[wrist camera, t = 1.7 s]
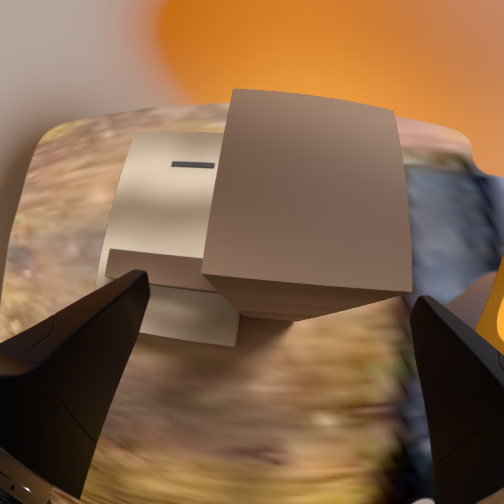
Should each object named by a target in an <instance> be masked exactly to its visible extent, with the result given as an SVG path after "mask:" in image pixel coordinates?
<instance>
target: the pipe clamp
mask: <svg viewBox="0 0 504 504" xmlns="http://www.w3.org/2000/svg"><path fill="white" fill-rule="evenodd" d="M474 331H476V332H477V333H478V334H479V335H480V336H482V337H483V338H484V339H485V340H486V341H488V342H489V343H490V344H491V345H492V346H494V347H495V348H496V349H497V351H500V352H501V353H502V354H503V355H504V255H503V257H502V261H501V264H500V267H499V270H498V272H497V273H496V277H495V279H494V282H493V285H492V288H491V291H490V293H489V296H488V299H487V301H486V304H485V306H484V309H483V311H482V313H481V316H480V318H479V321H478V323H477V325H476V327H475V330H474Z"/></svg>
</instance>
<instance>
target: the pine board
mask: <svg viewBox="0 0 504 504" xmlns="http://www.w3.org/2000/svg"><path fill="white" fill-rule="evenodd" d="M223 136H224V133H209V132H145V133H135V135H134V137H133V140H132V143H131V146H130V149H129V152H128V155H127V158H126V161H125V164H124V167H123V171H122V174H121V177H120V181H119V184H118V188H117V191H116V195H115V198H114V202H113V206H112V210H111V214H110V218H109V222H108V226H107V230H106V234H105V239H104V243H103V248H102V253H101V258H100V263H99V268H98V274H97V279H96V285H95V290H97V289H99V288H101V287H103V286H104V285H106V284H108V283H110V282H112V281H113V279H110V278H108V277H105V271H106V265H107V260H108V255H109V250H110V248H111V249H120V250H129V251H138V252H147V253H156V254H166V255H175V256H185V257H194V258H203V254H204V248H205V241H206V234H207V228H208V222H209V215H210V209H211V203H212V197H213V191H214V185H215V180H216V174H217V168H218V163H219V157H220V152H221V147H222V141H223ZM239 316H240V313H239V312H238V311H237V310H236V309H235V308H234V307H233V306H232V305H231V304H230V303H229V302H228V301H227V300H226V299H225V298H224V297H223V296H222V295H221V294H217V293H208V292H200V291H191V290H183V289H176V288H168V287H161V286H153V285H150V299H149V302H148V305H147V308H146V311H145V315H144V318H143V321H142V325H141V328H140V331H139V332H141V333H147V334H152V335H158V336H163V337H169V338H175V339H182V340H188V341H195V342H202V343H209V344H216V345H224V346H232V347H234V346H235V345H236V344H237V335H238V325H239Z"/></svg>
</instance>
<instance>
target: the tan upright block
mask: <svg viewBox="0 0 504 504" xmlns="http://www.w3.org/2000/svg"><path fill="white" fill-rule="evenodd" d="M133 269H140V270H145V271H146V272H147V274H148V279H149V285H153V286H161V287H168V288H176V289H183V290H191V291H200V292H208V293H217V294H221V295H222V296H223V297H224V298H225V299H226V300H227V301H228V302H229V303H230V304H231V305H232V306H233V307H234V308H235V309H236V310H237V311H238V312H239V313H240V314H241V315H242V316H243V317H252V318H262V319H272V320H284V321H301V320H305V319H310V318H314V317H319V316H323V315H327V314H331V313H336V312H340V311H344V310H348V309H352V308H356V307H360V306H363V305H367V304H371V303H375V302H378V301H382V300H386V299H389V298H393V297H396V296H400V295H403V294H407V293H410V292H412V251H411V231H410V217H409V205H408V195H407V187H406V178H405V171H404V164H403V157H402V151H401V145H400V139H399V134H398V129H397V124H396V119H395V114H394V111H392V110H388V109H384V108H380V107H375V106H370V105H366V104H361V103H356V102H350V101H345V100H339V99H333V98H327V97H320V96H312V95H305V94H297V93H287V92H276V91H264V90H248V89H233V92H232V97H231V102H230V106H229V111H228V116H227V121H226V126H225V131H224V136H223V141H222V147H221V152H220V157H219V163H218V168H217V174H216V180H215V185H214V191H213V197H212V203H211V209H210V215H209V222H208V228H207V234H206V241H205V248H204V254H203V258H194V257H185V256H175V255H166V254H156V253H147V252H138V251H129V250H120V249H111V248H110V250H109V255H108V260H107V265H106V271H105V277H108V278H110V279H113V280H115V279H117V278H119V277H121V276H122V275H124V274H126V273H128V272H130V271H132V270H133Z"/></svg>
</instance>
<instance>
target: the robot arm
mask: <svg viewBox="0 0 504 504" xmlns="http://www.w3.org/2000/svg"><path fill="white" fill-rule="evenodd" d="M149 299H150V285H149V279H148V274H147V272H146V271H145V270H140V269H133V270H132V271H130V272H128V273H126V274H124V275H122V276H121V277H119V278H117V279H115V280H113V281H112V282H110V283H108V284H106V285H104V286H103V287H101V288H99V289H97V290H95V291H94V292H92V293H90V294H88V295H87V296H85V297H83V298H81V299H80V300H78V301H76V302H74V303H73V304H71V305H69V306H67V307H66V308H64V309H62V310H61V311H59V312H57V313H55V315H52V316H50V317H49V318H47V319H45V320H43V321H42V322H40V323H38V324H36V325H35V326H33V327H31V328H29V329H27V330H25V331H23V332H21V333H19V334H17V335H15V336H13V337H11V338H9V339H7V340H5V341H4V342H2V343H0V504H52V503H51V501H50V499H49V498H50V495H51V492H52V489H53V487H54V488H55V489H57V490H59V491H61V492H63V493H65V494H67V495H69V496H71V497H74V498H76V499H78V500H80V497H81V494H82V491H83V487H84V484H85V480H86V477H87V474H88V471H89V467H90V464H91V461H92V458H93V455H94V452H95V449H96V444H97V442H98V439H99V436H100V433H101V431H102V428H103V425H104V422H105V419H106V416H107V414H108V411H109V408H110V405H111V403H112V400H113V397H114V395H115V392H116V389H117V387H118V384H119V382H120V379H121V377H122V374H123V372H124V369H125V367H126V364H127V362H128V359H129V357H130V354H131V352H132V349H133V347H134V345H135V342H136V340H137V337H138V335H139V331H140V328H141V325H142V321H143V318H144V315H145V311H146V308H147V305H148V302H149ZM409 320H410V327H411V333H412V340H413V348H414V355H415V360H416V365H417V369H418V374H419V379H420V384H421V389H422V394H423V399H424V405H425V410H426V417H427V423H428V430H429V437H430V445H431V453H432V463H433V476H434V491H435V504H504V355H503V354H502V353H501V352H500V351H497V349H496V348H495V347H494V346H492V345H491V344H490V343H489V342H488V341H486V340H485V339H484V338H483V337H482V336H480V335H479V334H478V333H477V332H476V331H474V330H473V329H471V327H469V326H468V325H467V324H466V323H464V322H463V321H462V320H460V319H459V318H458V317H457V316H455V315H454V314H453V313H452V312H450V311H449V310H448V309H446V308H445V307H444V306H443V305H441V304H440V303H439V302H437V301H436V300H435V299H433V298H432V297H431V296H424V295H421V296H419V297H418V298H417V300H416V302H415V304H414V307H413V309H412V311H411V313H410V318H409Z"/></svg>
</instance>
